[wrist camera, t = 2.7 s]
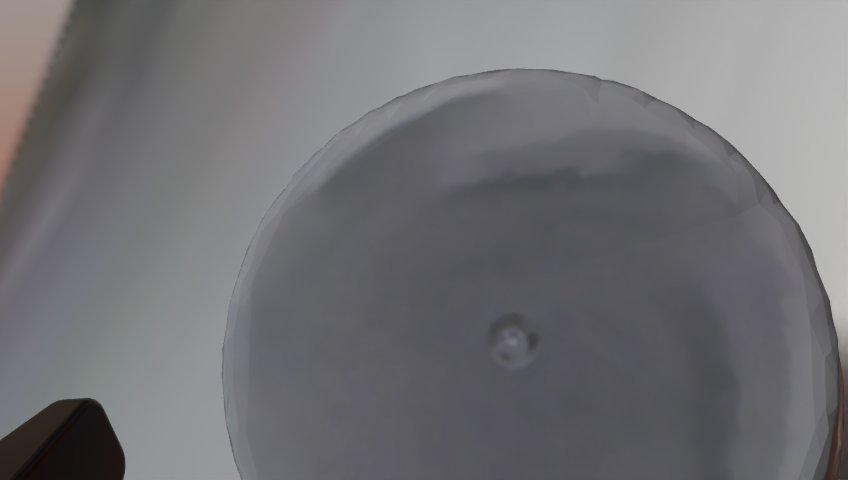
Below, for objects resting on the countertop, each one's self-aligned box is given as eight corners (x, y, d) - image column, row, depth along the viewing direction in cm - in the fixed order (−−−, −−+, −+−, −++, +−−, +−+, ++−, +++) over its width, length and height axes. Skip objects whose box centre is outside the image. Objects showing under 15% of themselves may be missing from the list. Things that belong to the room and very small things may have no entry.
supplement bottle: (346, 327, 17) (-19, 126, 6) (604, 213, 17) (718, -213, 6) (456, 611, 15) (227, 1060, 4) (745, 490, 15) (1283, 633, 4)
